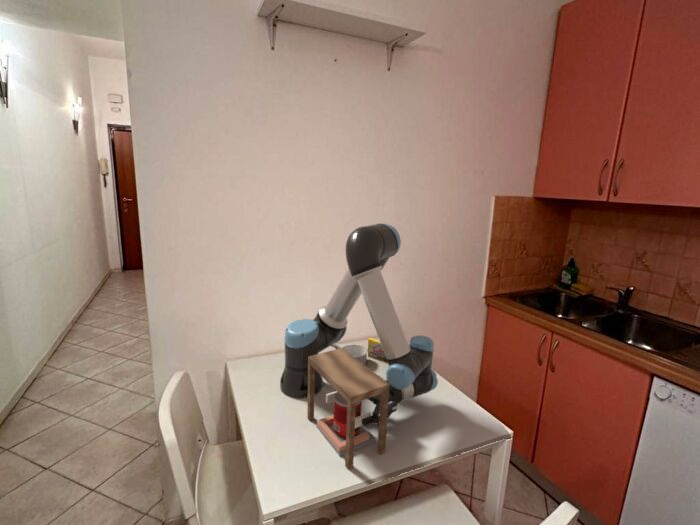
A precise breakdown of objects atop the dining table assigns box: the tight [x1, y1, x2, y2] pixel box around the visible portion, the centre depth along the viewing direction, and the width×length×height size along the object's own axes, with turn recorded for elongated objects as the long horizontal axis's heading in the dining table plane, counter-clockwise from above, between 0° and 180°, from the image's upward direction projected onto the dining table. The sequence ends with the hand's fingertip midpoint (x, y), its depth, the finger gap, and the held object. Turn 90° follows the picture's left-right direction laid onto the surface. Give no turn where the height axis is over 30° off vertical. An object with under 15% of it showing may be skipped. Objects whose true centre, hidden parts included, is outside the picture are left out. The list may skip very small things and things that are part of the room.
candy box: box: [367, 337, 388, 364], centre depth 150 cm, size 16×2×8 cm, turn 55°
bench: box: [306, 348, 389, 470], centre depth 105 cm, size 12×24×21 cm, turn 32°
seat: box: [315, 414, 377, 457], centre depth 107 cm, size 12×14×2 cm
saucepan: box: [330, 343, 368, 366], centre depth 151 cm, size 12×20×6 cm, turn 61°
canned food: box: [333, 392, 362, 438], centre depth 106 cm, size 8×8×11 cm
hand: (337, 411), depth 104 cm, fingers open, 13 cm apart
